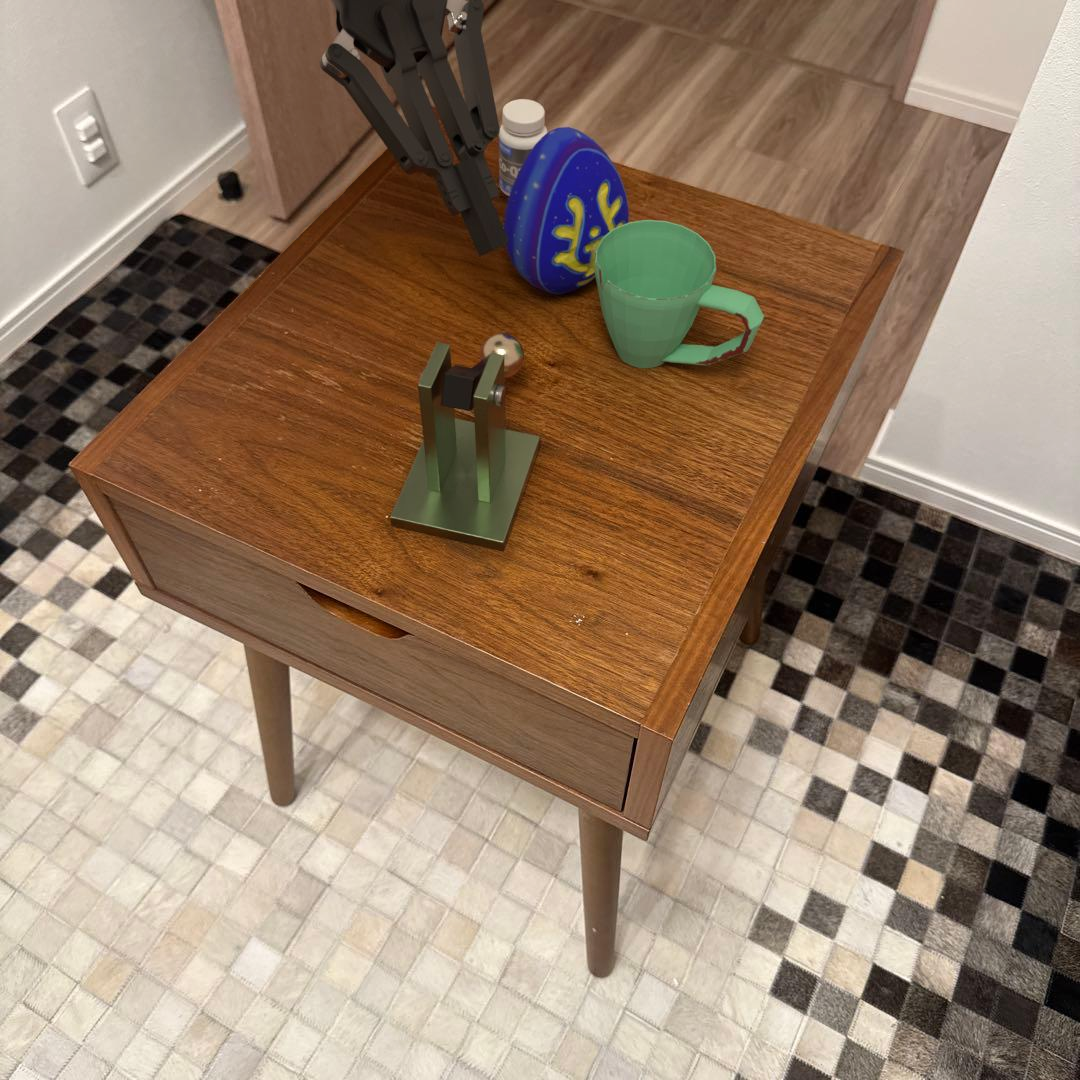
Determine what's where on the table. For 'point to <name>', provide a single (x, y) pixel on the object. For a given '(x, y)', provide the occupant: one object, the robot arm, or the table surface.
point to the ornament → (563, 210)
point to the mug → (665, 294)
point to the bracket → (466, 462)
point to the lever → (480, 371)
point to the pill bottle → (518, 138)
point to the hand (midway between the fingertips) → (493, 249)
